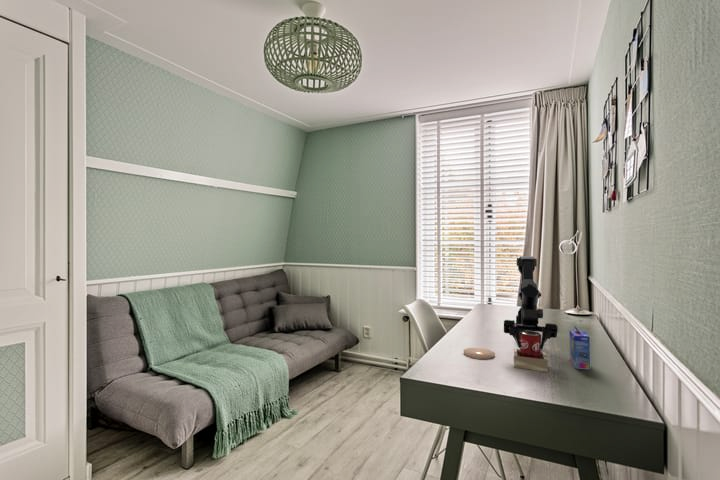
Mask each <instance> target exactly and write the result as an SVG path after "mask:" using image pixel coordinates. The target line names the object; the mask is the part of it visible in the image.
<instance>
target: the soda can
mask: <svg viewBox="0 0 720 480" xmlns="http://www.w3.org/2000/svg"><path fill="white" fill-rule="evenodd" d="M541 341H542V334H541V332H536V331H521V332H520V348H519V349H520V353H519V356H521V357H530V358H539V359H541V352H542V350H541Z"/></svg>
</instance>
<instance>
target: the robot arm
mask: <svg viewBox="0 0 720 480" xmlns="http://www.w3.org/2000/svg"><path fill="white" fill-rule="evenodd" d="M537 262H538V259H537V258H534V256H525V255H523V256H522V255H521V256H519V257H516V267H517V268H518V269H517V270H518V272H519V274H520V276H521V283H520V288H518V298H520V300H521V303H520V308H519V310H518V311H517V315H516V316H515V317H516V318H515V320H513V319H505V320H504V321H503V333H505V334H509V336H511V337H512V338H513V339H514V341H515V342H516V345H517V346H518V349H520V332H521V331H534V332H538V333H542V334H541V351H543V349H544V346H545V344H546V342H547V340H550V339H551V338H552V339H553V338H554V339H556V338H557V335H558V330H559V327H558V324H556V323H551V322H550V323H549V322H545V324H544V325H545V326H541V325H540V326H539V319H543V318H544V309H542V308H538V305H537V304H538V300H539V299H540V297H542V293H541V292H540V290H539V289H538V284H537V283H536V282H535V281H534V272H535V270H536V268H537V265H538V263H537Z"/></svg>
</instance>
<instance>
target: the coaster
mask: <svg viewBox="0 0 720 480" xmlns="http://www.w3.org/2000/svg"><path fill="white" fill-rule="evenodd" d="M463 355H465V356H466V357H468V358H471V359H477V360H489V359H490V360H491V359H494V358H495V357H496V352H495V351H493V350H490V349H487V348H481V347H468V348H465V349H463Z"/></svg>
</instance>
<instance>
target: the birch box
mask: <svg viewBox="0 0 720 480" xmlns="http://www.w3.org/2000/svg"><path fill="white" fill-rule="evenodd" d="M519 353H520V348H513V367H514V368H515V369H524V370H531V371H541V372H548V371H549V370H548V369H549V368H548V367H549V365H548V362H549V359H548V357H547V355H546V354H547V353H546V352H545V351H541V359H539V358H530V357H521V356H519Z"/></svg>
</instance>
